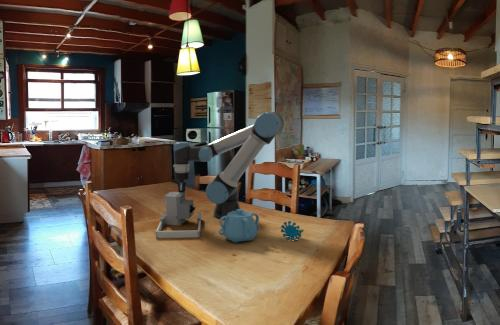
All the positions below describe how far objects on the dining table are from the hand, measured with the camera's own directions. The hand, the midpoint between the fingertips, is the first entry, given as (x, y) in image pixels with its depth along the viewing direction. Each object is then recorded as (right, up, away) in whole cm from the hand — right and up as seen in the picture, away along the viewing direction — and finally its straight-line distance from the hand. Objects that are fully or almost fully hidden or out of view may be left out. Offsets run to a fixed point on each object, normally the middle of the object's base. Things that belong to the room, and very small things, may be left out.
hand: (182, 215), depth 212 cm
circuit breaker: (+1, -3, -8) cm, 9 cm away
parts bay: (+2, -5, -22) cm, 23 cm away
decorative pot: (+31, -6, -31) cm, 44 cm away
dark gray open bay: (+1, -3, -8) cm, 8 cm away
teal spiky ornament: (+55, -7, -31) cm, 63 cm away
